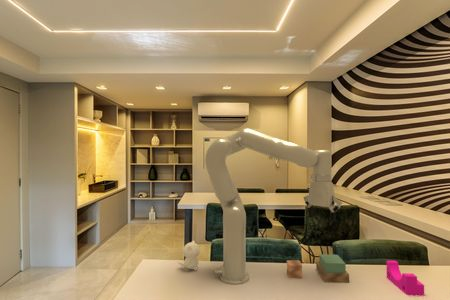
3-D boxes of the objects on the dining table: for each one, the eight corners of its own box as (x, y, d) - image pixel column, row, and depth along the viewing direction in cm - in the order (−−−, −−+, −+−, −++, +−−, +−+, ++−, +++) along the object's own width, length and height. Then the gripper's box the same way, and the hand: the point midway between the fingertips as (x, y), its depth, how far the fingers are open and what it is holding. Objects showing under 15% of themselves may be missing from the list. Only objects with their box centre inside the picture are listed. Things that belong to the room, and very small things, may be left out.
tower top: (325, 272, 115) (325, 263, 115) (319, 263, 125) (319, 254, 125) (345, 273, 114) (345, 263, 114) (337, 263, 124) (337, 254, 124)
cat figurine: (197, 273, 123) (197, 246, 123) (174, 271, 124) (174, 245, 124) (202, 265, 131) (202, 240, 131) (180, 264, 133) (180, 238, 133)
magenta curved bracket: (424, 297, 103) (424, 276, 103) (406, 296, 103) (406, 276, 103) (401, 278, 118) (401, 261, 118) (386, 278, 118) (386, 260, 118)
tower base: (324, 283, 114) (324, 273, 114) (316, 270, 126) (316, 262, 126) (349, 284, 114) (349, 274, 114) (338, 271, 126) (338, 262, 126)
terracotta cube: (289, 278, 118) (289, 265, 118) (286, 272, 124) (286, 260, 124) (302, 278, 118) (302, 265, 118) (299, 272, 123) (299, 260, 123)
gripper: (299, 177, 122) (299, 216, 122) (336, 181, 109) (336, 224, 109) (309, 176, 127) (309, 214, 127) (345, 180, 114) (345, 221, 114)
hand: (321, 219), depth 118 cm, fingers open, 9 cm apart
